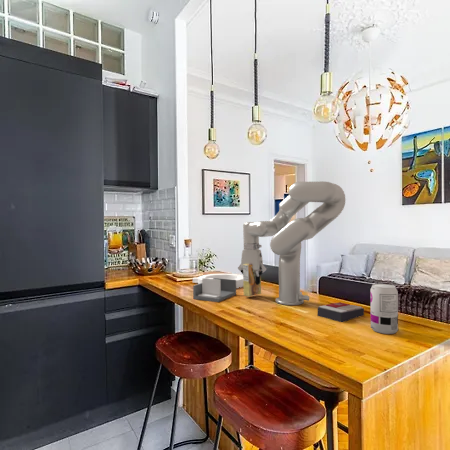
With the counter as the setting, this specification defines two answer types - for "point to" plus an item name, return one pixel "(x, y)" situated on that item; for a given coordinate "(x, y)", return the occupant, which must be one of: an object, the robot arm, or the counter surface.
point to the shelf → (214, 289)
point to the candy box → (250, 281)
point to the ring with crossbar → (223, 276)
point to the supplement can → (384, 308)
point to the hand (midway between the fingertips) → (252, 283)
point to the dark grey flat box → (340, 311)
